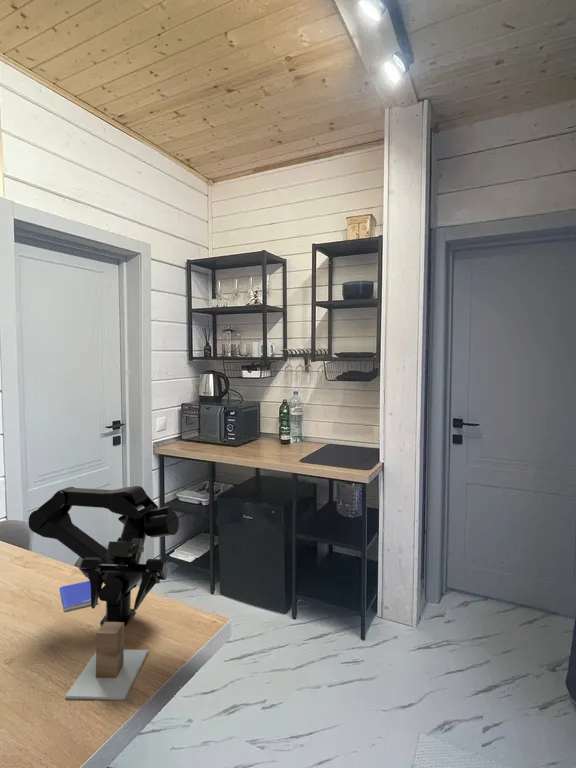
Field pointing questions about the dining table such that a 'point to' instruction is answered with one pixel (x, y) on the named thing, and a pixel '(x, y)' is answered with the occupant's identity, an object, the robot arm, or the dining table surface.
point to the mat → (107, 679)
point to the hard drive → (76, 595)
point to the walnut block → (109, 649)
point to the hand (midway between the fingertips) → (113, 608)
